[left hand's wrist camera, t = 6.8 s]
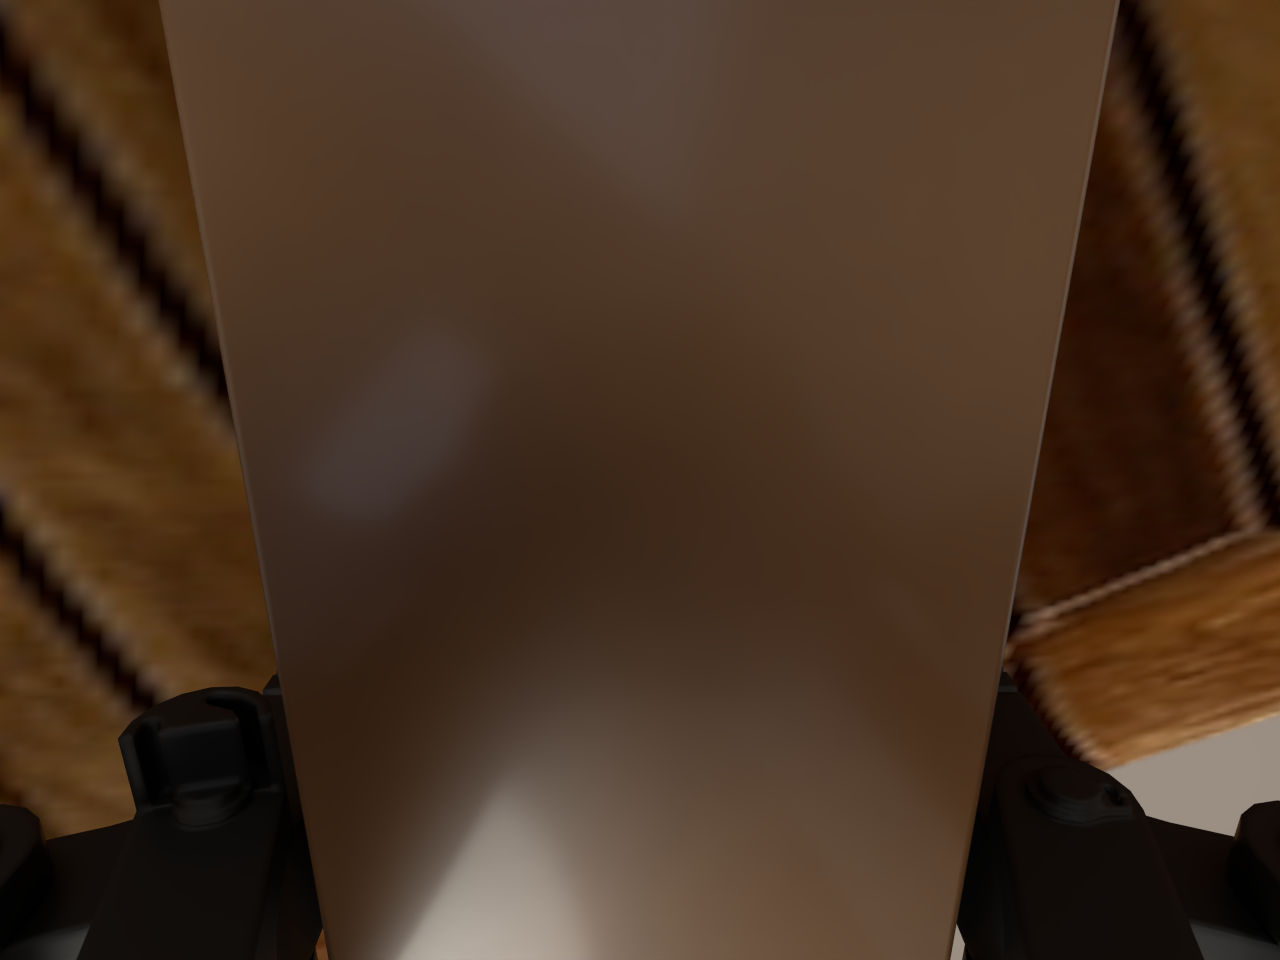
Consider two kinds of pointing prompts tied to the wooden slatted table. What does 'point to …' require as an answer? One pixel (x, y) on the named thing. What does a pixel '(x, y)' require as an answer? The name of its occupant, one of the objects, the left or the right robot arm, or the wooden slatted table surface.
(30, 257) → the wooden slatted table surface
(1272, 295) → the wooden slatted table surface
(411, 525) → the bar
